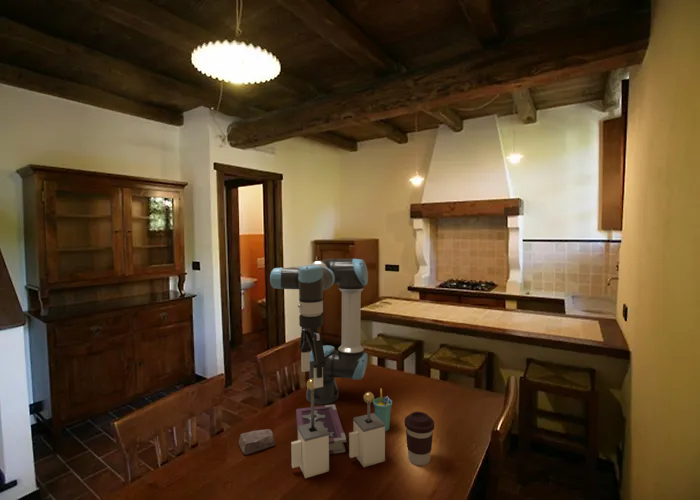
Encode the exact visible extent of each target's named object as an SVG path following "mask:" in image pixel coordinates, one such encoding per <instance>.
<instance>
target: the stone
mask: <svg viewBox="0 0 700 500" xmlns="http://www.w3.org/2000/svg"><path fill="white" fill-rule="evenodd" d="M238 446H239V447H240V450H241V452H242V453H243V454H244V455H246V456H247V455H249V454H253V453H256V452H259V451H262V450H265V449H268V448H272V447H274V446H276V441H275V439H274V433H273V431H272V430H271V429H270V428H268V429H267V428H266V429H257V430H251V431H248V432H242V433H240V436H239V440H238Z"/></svg>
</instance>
